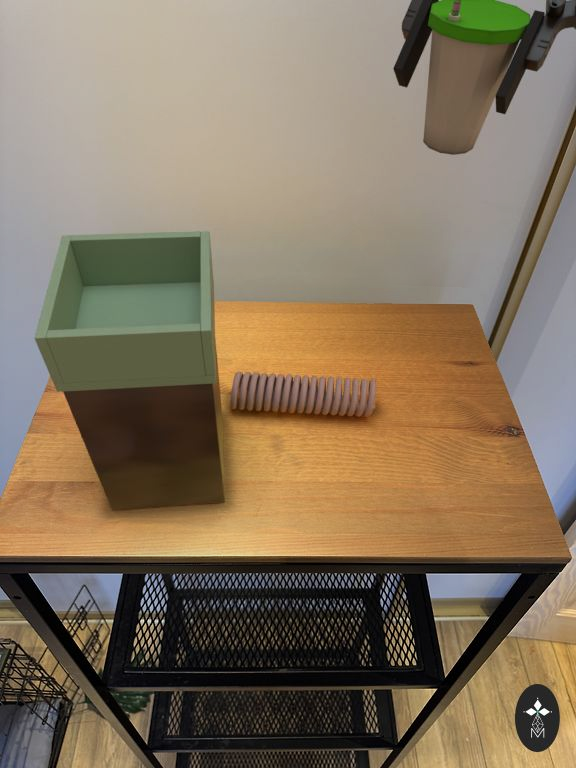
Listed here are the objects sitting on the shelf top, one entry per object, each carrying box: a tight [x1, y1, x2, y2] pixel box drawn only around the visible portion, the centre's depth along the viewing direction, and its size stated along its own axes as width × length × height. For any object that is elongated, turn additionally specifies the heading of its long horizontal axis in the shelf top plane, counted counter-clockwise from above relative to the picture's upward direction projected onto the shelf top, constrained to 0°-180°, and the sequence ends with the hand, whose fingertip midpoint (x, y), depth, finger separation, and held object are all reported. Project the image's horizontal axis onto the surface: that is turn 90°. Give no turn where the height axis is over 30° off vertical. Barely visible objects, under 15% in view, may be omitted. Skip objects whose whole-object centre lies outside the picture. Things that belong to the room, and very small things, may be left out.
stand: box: [62, 338, 226, 511], centre depth 58 cm, size 12×12×20 cm
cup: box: [422, 0, 531, 156], centre depth 46 cm, size 8×8×15 cm
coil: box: [229, 370, 377, 418], centre depth 69 cm, size 5×5×18 cm
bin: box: [34, 230, 217, 393], centre depth 48 cm, size 13×13×6 cm
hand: (449, 91), depth 46 cm, fingers closed on cup, 8 cm apart
